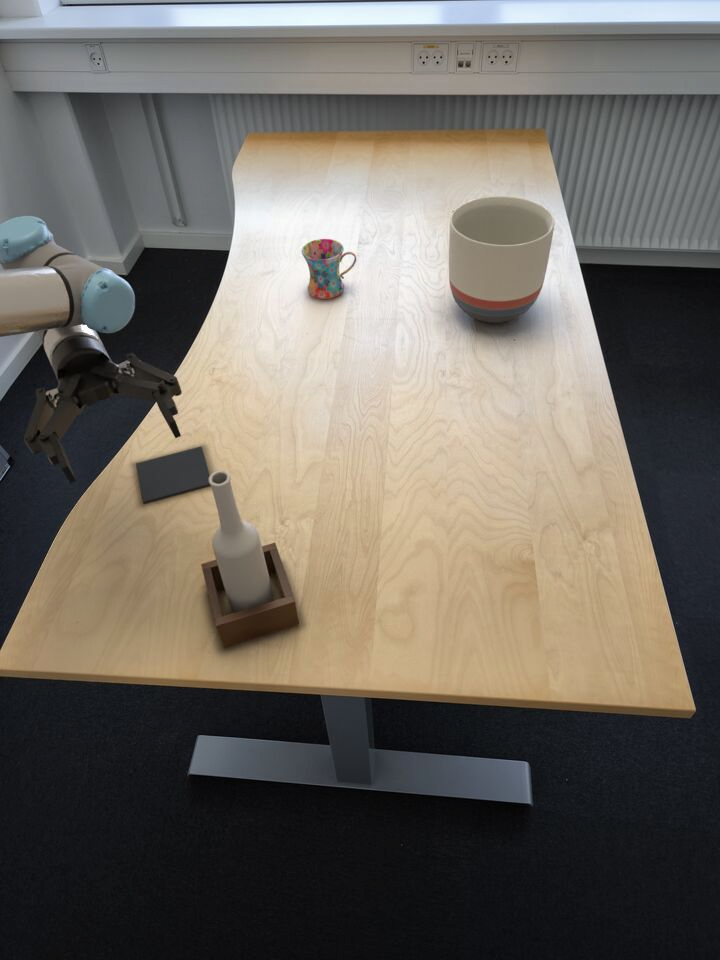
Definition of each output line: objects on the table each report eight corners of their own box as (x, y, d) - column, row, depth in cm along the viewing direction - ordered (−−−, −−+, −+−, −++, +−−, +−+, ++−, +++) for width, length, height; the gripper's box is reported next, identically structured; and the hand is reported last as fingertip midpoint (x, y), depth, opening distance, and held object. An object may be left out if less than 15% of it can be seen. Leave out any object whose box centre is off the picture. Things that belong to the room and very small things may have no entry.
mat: (143, 503, 126) (143, 501, 125) (136, 465, 132) (135, 463, 132) (212, 485, 128) (211, 483, 128) (202, 448, 135) (201, 446, 134)
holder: (223, 648, 105) (215, 625, 101) (208, 587, 113) (200, 563, 109) (299, 624, 108) (295, 601, 103) (280, 565, 115) (275, 542, 111)
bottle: (276, 586, 112) (248, 458, 92) (272, 623, 108) (242, 497, 88) (234, 587, 113) (196, 459, 92) (228, 624, 108) (187, 498, 88)
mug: (306, 304, 166) (302, 261, 158) (305, 282, 172) (300, 240, 164) (359, 299, 166) (357, 257, 158) (356, 277, 172) (354, 235, 165)
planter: (536, 287, 166) (549, 195, 151) (543, 340, 152) (559, 245, 137) (446, 286, 168) (450, 196, 152) (445, 339, 154) (450, 245, 139)
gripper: (170, 346, 108) (223, 432, 95) (2, 412, 102) (35, 514, 89) (155, 304, 102) (210, 389, 90) (-24, 371, 96) (7, 473, 83)
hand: (123, 452), depth 89 cm, fingers open, 13 cm apart
